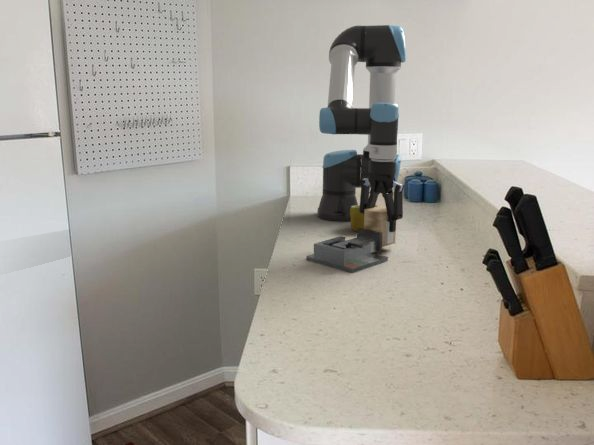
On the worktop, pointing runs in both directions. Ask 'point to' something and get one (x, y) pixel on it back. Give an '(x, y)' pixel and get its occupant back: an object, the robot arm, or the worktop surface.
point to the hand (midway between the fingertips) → (379, 240)
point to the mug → (356, 218)
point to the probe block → (377, 222)
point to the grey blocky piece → (363, 240)
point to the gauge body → (345, 256)
